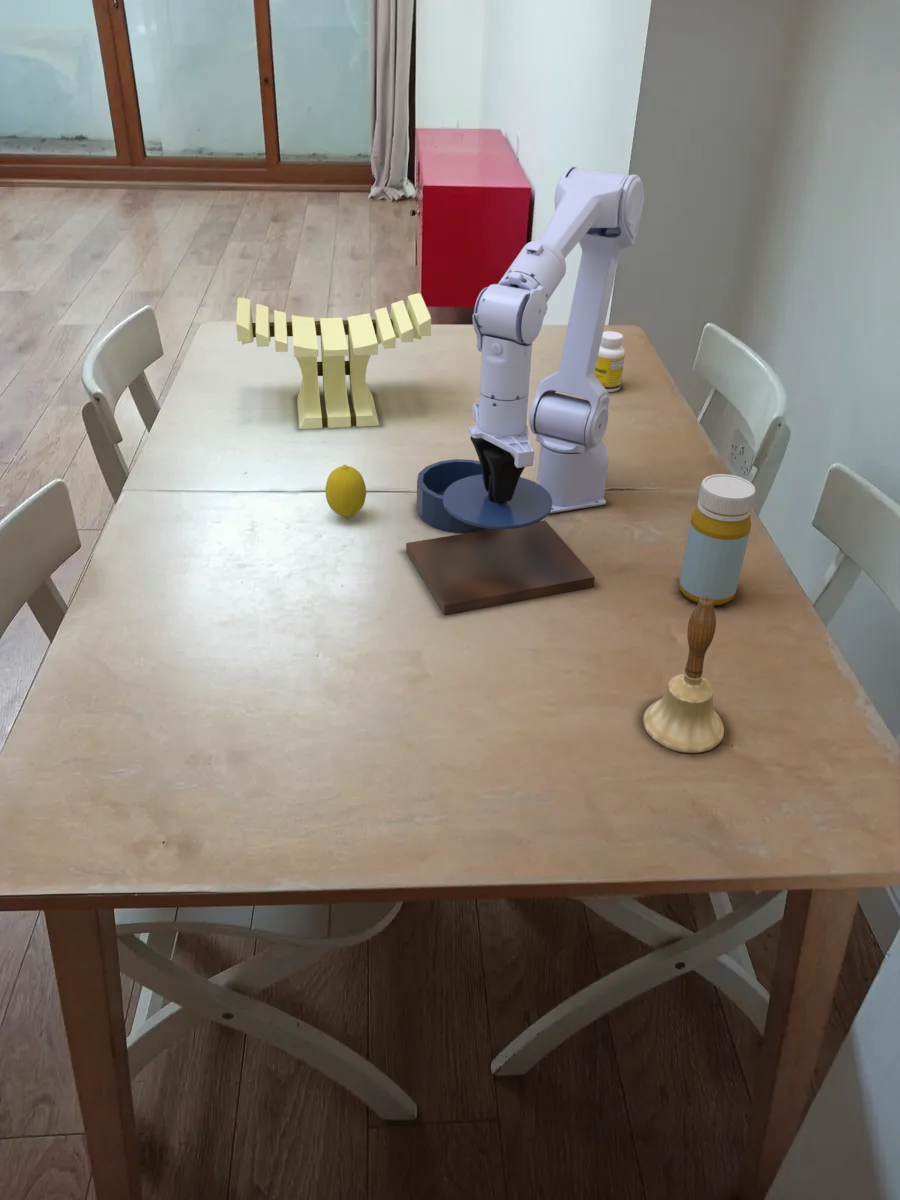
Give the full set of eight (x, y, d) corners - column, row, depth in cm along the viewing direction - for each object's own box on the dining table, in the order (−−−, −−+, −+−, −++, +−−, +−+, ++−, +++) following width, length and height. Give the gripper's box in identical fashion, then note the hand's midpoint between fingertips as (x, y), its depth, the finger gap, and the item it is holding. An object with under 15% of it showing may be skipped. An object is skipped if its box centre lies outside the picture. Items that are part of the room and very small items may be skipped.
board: (544, 529, 134) (545, 520, 133) (593, 586, 122) (594, 576, 122) (406, 552, 128) (406, 542, 127) (444, 615, 117) (444, 604, 116)
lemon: (360, 529, 133) (358, 476, 128) (321, 524, 134) (318, 472, 129) (371, 510, 137) (370, 458, 133) (333, 505, 138) (331, 454, 134)
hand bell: (672, 762, 97) (699, 633, 88) (627, 711, 103) (648, 586, 94) (740, 741, 99) (773, 613, 90) (692, 692, 106) (718, 569, 97)
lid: (525, 475, 129) (527, 444, 126) (569, 524, 118) (573, 491, 116) (428, 489, 125) (428, 457, 122) (465, 541, 114) (466, 507, 112)
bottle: (737, 583, 124) (761, 478, 115) (731, 613, 118) (756, 504, 110) (682, 572, 126) (701, 468, 117) (674, 601, 120) (694, 494, 112)
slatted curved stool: (417, 387, 175) (418, 287, 165) (429, 423, 162) (431, 318, 152) (248, 393, 171) (238, 291, 161) (246, 431, 158) (235, 323, 148)
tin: (486, 484, 145) (488, 454, 142) (520, 524, 135) (522, 493, 132) (405, 496, 141) (405, 465, 138) (434, 538, 131) (434, 507, 128)
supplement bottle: (584, 384, 178) (590, 331, 172) (610, 380, 180) (616, 328, 174) (600, 394, 174) (607, 341, 168) (626, 390, 176) (633, 337, 170)
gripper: (450, 372, 117) (448, 473, 125) (495, 419, 106) (489, 527, 114) (504, 366, 119) (498, 466, 127) (554, 412, 108) (544, 518, 116)
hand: (498, 494), depth 121 cm, fingers closed on lid, 2 cm apart
